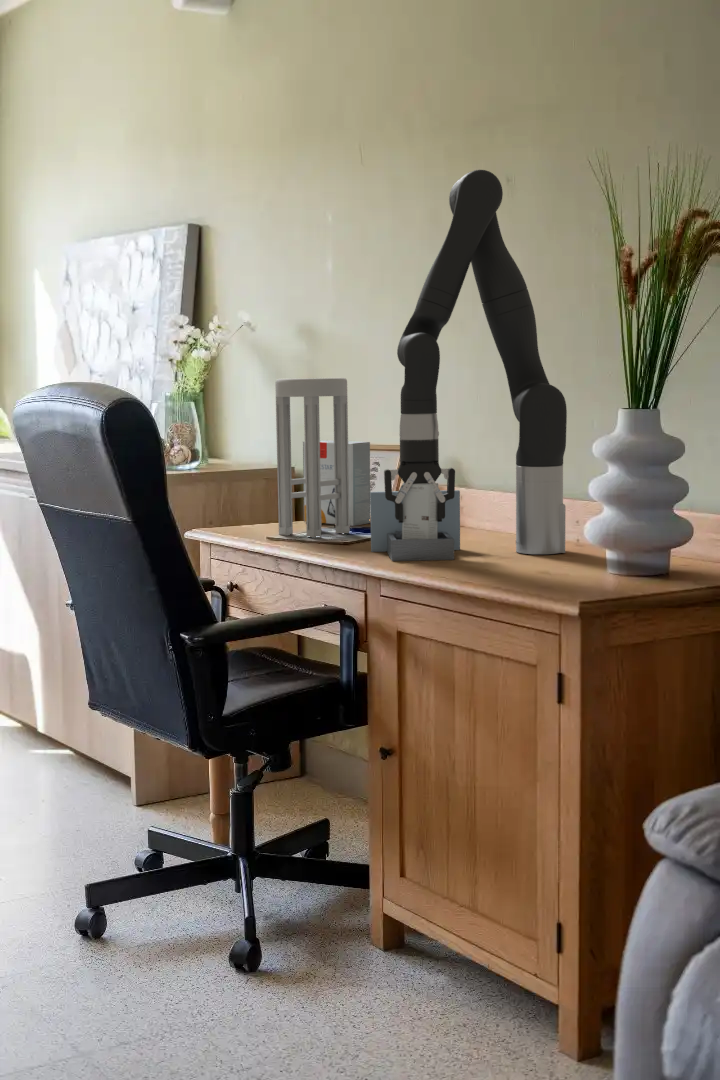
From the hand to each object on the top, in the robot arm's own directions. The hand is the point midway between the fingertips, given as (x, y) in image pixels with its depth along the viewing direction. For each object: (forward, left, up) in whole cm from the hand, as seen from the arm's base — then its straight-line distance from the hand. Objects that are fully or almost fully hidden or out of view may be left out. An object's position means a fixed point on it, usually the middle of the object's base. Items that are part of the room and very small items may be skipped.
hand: (419, 521), depth 254 cm
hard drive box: (+14, -63, -7) cm, 65 cm away
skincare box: (0, 0, -5) cm, 5 cm away
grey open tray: (0, -1, -7) cm, 7 cm away
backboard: (0, -9, -7) cm, 11 cm away
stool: (+20, -41, -7) cm, 46 cm away
